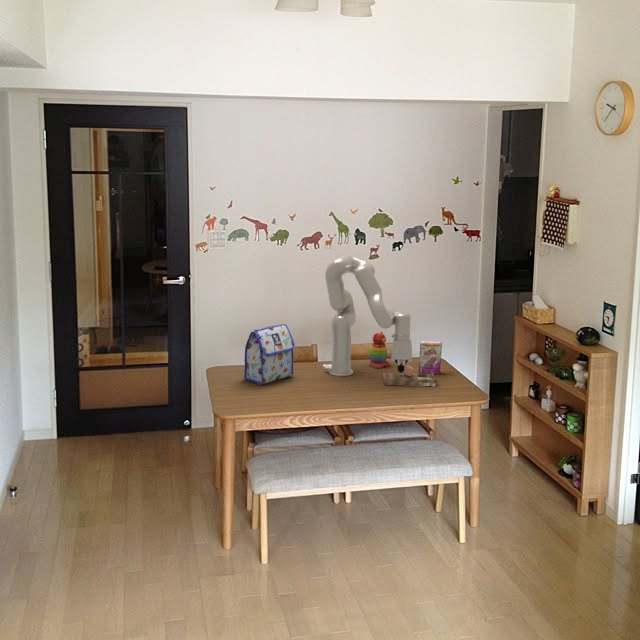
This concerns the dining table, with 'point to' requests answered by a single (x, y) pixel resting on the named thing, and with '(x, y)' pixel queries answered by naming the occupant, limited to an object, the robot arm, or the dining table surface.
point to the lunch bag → (269, 354)
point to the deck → (409, 379)
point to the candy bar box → (430, 357)
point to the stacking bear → (378, 351)
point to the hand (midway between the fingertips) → (400, 372)
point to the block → (408, 370)
